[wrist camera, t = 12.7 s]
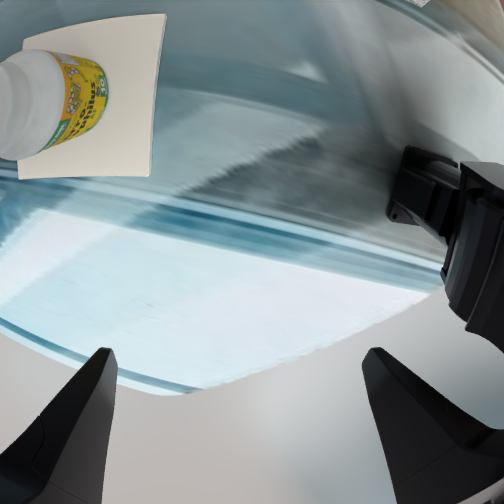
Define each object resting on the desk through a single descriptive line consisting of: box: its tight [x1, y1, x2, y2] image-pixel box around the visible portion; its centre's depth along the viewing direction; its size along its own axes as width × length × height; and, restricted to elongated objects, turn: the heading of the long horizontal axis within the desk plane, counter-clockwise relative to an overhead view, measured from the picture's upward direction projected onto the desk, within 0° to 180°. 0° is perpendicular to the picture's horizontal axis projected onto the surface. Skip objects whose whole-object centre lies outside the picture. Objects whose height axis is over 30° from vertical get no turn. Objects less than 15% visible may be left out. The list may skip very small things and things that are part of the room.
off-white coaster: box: [17, 14, 167, 179], centre depth 14 cm, size 11×11×1 cm
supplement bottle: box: [0, 49, 110, 160], centre depth 10 cm, size 5×5×10 cm
